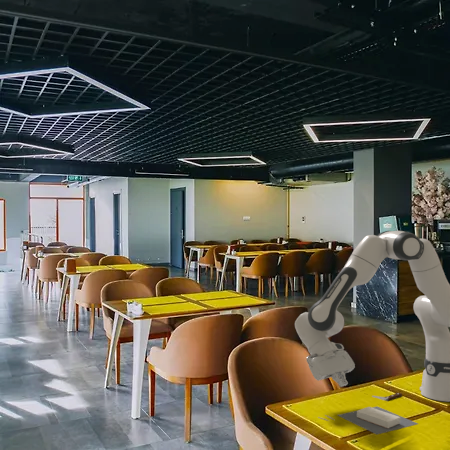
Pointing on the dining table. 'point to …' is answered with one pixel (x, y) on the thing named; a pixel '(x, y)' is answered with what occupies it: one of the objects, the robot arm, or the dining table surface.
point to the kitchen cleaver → (389, 397)
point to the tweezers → (325, 419)
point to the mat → (373, 427)
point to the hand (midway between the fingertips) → (344, 385)
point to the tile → (378, 417)
